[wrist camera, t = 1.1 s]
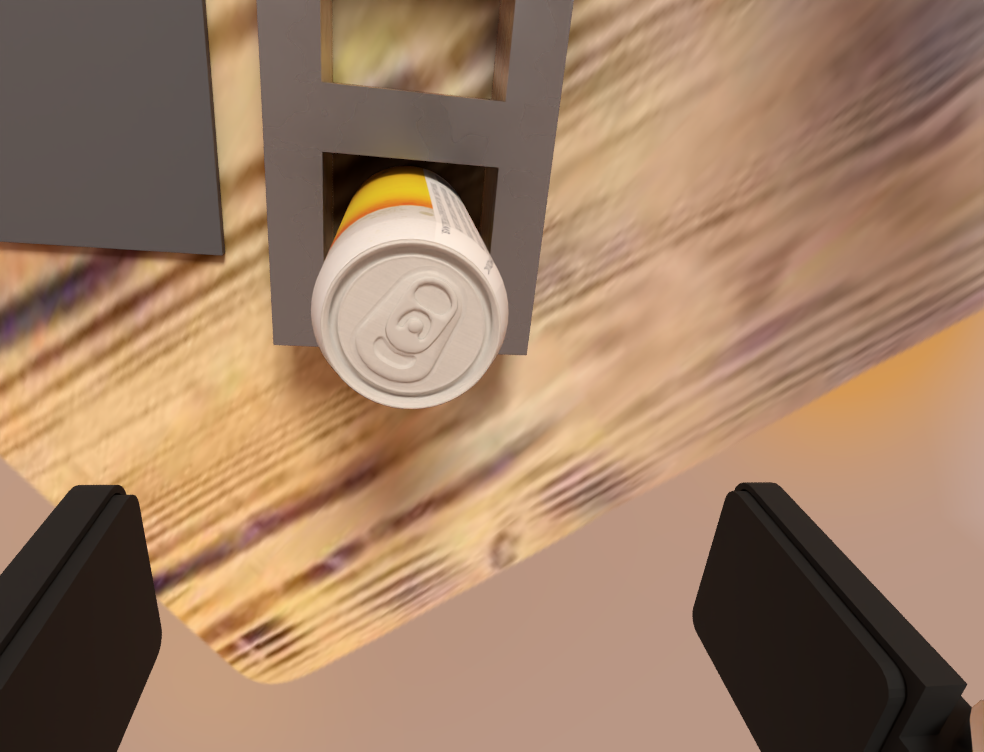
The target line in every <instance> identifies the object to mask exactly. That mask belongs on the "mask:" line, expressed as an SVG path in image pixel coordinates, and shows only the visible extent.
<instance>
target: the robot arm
mask: <svg viewBox="0 0 984 752" xmlns="http://www.w3.org/2000/svg"><path fill="white" fill-rule="evenodd" d="M693 624H694V627H695V630H696V632H697V634H698V636H699V638H700V640H701V641H702V643H703V645H704V647H705V649H706V651H707V653H708V655H709V656H710V658H711V660H712V662H713V664H714V665H715V667H716V669H717V671H718V673H719V675H720V677H721V679H722V680H723V682H724V684H725V686H726V688H727V690H728V692H729V693H730V695H731V697H732V699H733V701H734V703H735V705H736V706H737V708H738V710H739V712H740V714H741V715H742V717H743V719H744V721H745V723H746V725H747V727H748V728H749V730H750V732H751V734H752V736H753V738H754V740H755V741H756V743H757V745H758V747H759V749H760V751H761V752H984V700H980V701H979V702H978V703H977V704H976V705H974V706H973V707H971V706H970V705H969V704H968V703H967V702H966V701H965V700H964V699H963V698H962V696H961V694H962V693H963V691H964V689H965V688H966V686H967V683H966V682H965V681H964V680H963V679H962V678H961V677H960V676H959V675H958V674H957V673H956V671H955V670H954V669H953V668H952V667H951V666H950V665H949V664H948V663H947V662H946V661H945V660H944V659H943V658H942V657H941V656H940V655H939V654H938V653H937V652H936V650H935V649H934V648H933V647H931V645H930V644H929V643H928V642H927V641H926V640H925V639H924V638H923V637H922V636H921V634H919V632H918V631H917V630H916V629H915V628H914V627H913V626H912V625H911V624H910V623H909V622H908V621H907V620H906V619H905V618H904V617H903V615H902V614H901V613H900V612H899V611H898V610H897V609H896V608H895V607H894V606H893V605H892V604H891V603H890V602H889V601H888V600H887V599H886V598H885V597H884V595H883V594H882V593H881V592H880V591H879V590H878V589H877V588H876V587H875V586H874V585H873V584H872V583H871V582H870V581H869V580H868V579H867V577H866V576H865V575H864V574H863V573H862V572H861V571H860V570H859V569H858V568H857V567H856V566H855V565H854V564H853V563H852V562H851V561H850V560H849V559H848V557H847V556H846V555H845V554H844V553H843V552H842V551H841V550H840V549H839V548H838V547H837V546H836V545H835V544H834V543H833V542H832V540H831V539H829V537H828V536H827V535H826V534H825V533H824V532H823V531H822V530H821V529H820V528H819V527H818V526H817V525H816V524H815V523H814V521H813V520H811V518H810V517H809V516H808V515H807V514H806V513H805V512H804V511H803V510H802V509H801V508H800V507H799V506H798V505H797V504H796V503H795V501H794V500H793V499H792V498H791V497H790V496H789V495H788V494H787V493H786V492H785V491H784V490H783V489H782V488H781V487H780V486H779V485H777V484H776V483H770V482H769V483H740V484H739V485H738V486H737V487H736V488H735V490H734V491H731V492H729V493H728V494H727V496H726V498H725V501H724V505H723V508H722V511H721V515H720V518H719V522H718V525H717V529H716V532H715V536H714V539H713V542H712V546H711V549H710V552H709V556H708V559H707V563H706V566H705V570H704V573H703V576H702V580H701V583H700V587H699V590H698V594H697V597H696V600H695V604H694V607H693ZM161 639H162V629H161V623H160V617H159V611H158V606H157V600H156V595H155V589H154V584H153V578H152V573H151V567H150V561H149V556H148V550H147V545H146V539H145V534H144V528H143V523H142V517H141V512H140V506H139V502H138V499H137V497H136V496H135V495H126V492H125V490H124V488H123V487H122V486H120V485H78V486H74V487H73V488H72V489H71V490H70V491H69V492H68V493H67V494H66V496H65V497H64V498H63V499H62V500H61V502H60V503H59V504H58V505H57V507H56V508H55V509H54V510H53V511H52V513H51V514H50V515H49V516H48V518H47V519H46V520H45V521H44V522H43V524H42V525H41V526H40V527H39V529H38V530H37V531H36V532H35V533H34V535H33V536H32V537H31V538H30V540H29V541H28V542H27V543H26V545H25V546H24V547H23V548H22V550H21V551H20V552H19V553H18V554H17V555H16V557H15V558H14V559H13V560H12V562H11V563H10V564H9V565H8V566H7V568H6V569H5V570H4V571H3V573H2V574H1V575H0V752H117V750H118V748H119V745H120V743H121V741H122V738H123V736H124V733H125V731H126V729H127V726H128V724H129V722H130V719H131V717H132V715H133V712H134V710H135V708H136V705H137V703H138V701H139V698H140V696H141V694H142V691H143V689H144V687H145V684H146V682H147V679H148V677H149V675H150V673H151V670H152V668H153V666H154V663H155V661H156V659H157V656H158V653H159V650H160V646H161Z"/></svg>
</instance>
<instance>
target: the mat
mask: <svg viewBox="0 0 984 752" xmlns="http://www.w3.org/2000/svg"><path fill="white" fill-rule="evenodd" d="M0 242H16V243H32V244H48V245H64V246H80V247H96V248H112V249H128V250H144V251H160V252H175V253H191V254H207V255H223V254H225V246H224V233H223V221H222V208H221V195H220V182H219V170H218V157H217V144H216V132H215V119H214V106H213V94H212V81H211V68H210V56H209V43H208V30H207V17H206V5H205V0H0Z"/></svg>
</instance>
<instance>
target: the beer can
mask: <svg viewBox="0 0 984 752" xmlns="http://www.w3.org/2000/svg"><path fill="white" fill-rule="evenodd" d="M508 314H509V312H508V299H507V293H506V289H505V286H504V283H503V280H502V278H501V276H500V273H499V271H498V269H497V267H496V265H495V263H494V261H493V260H492V258H491V256H490V254H489V252H488V250H487V248H486V246H485V244H484V242H483V240H482V238H481V237H480V235H479V233H478V231H477V229H476V227H475V225H474V223H473V221H472V219H471V217H470V215H469V213H468V212H467V210H466V208H465V206H464V204H463V202H462V200H461V198H460V197H459V195H458V193H457V192H456V191H455V189H454V188H453V187H452V186H451V185H450V184H449V183H448V182H447V181H446V180H444V179H443V178H442V177H440V176H439V175H437V174H435V173H433V172H431V171H429V170H426V169H424V168H420V167H415V166H396V167H391V168H387V169H384V170H382V171H379V172H377V173H376V174H374V175H372V176H371V177H369V178H368V179H367V180H366V181H365V182H364V183H363V184H361V186H360V187H359V188H358V189H357V191H356V192H355V194H354V195H353V197H352V199H351V201H350V204H349V206H348V208H347V211H346V213H345V215H344V217H343V220H342V222H341V224H340V227H339V229H338V231H337V234H336V236H335V238H334V240H333V243H332V245H331V247H330V250H329V252H328V254H327V256H326V259H325V261H324V263H323V266H322V268H321V270H320V273H319V275H318V277H317V280H316V283H315V286H314V290H313V295H312V301H311V319H312V326H313V331H314V335H315V338H316V341H317V344H318V346H319V348H320V350H321V352H322V354H323V355H324V357H325V359H326V360H327V362H328V363H329V364H330V366H331V367H332V368H333V369H334V371H335V372H336V373H337V374H338V375H339V376H340V377H341V379H342V380H343V381H344V382H345V383H346V384H347V385H348V386H350V387H351V388H352V389H353V390H355V391H356V392H357V393H359V394H360V395H362V396H364V397H365V398H367V399H369V400H372V401H374V402H376V403H379V404H382V405H385V406H389V407H394V408H401V409H422V408H428V407H433V406H437V405H441V404H443V403H446V402H449V401H451V400H453V399H455V398H457V397H459V396H460V395H462V394H463V393H465V392H466V391H468V390H469V389H470V388H471V387H473V386H474V385H475V384H476V383H477V382H478V381H479V380H480V379H481V377H482V376H483V375H484V374H485V372H486V371H487V369H488V368H489V366H490V365H491V364H492V363H493V361H494V359H495V358H496V356H497V354H498V353H499V350H500V348H501V346H502V344H503V341H504V338H505V335H506V330H507V325H508Z"/></svg>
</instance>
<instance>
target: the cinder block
mask: <svg viewBox="0 0 984 752" xmlns="http://www.w3.org/2000/svg"><path fill="white" fill-rule="evenodd" d="M573 1H574V0H500V10H499V21H498V32H497V43H496V54H495V65H494V76H493V87H492V98H491V100H490V99H481V98H471V97H462V96H453V95H444V94H434V93H425V92H416V91H407V90H397V89H388V88H379V87H370V86H360V85H351V84H342V83H333V58H332V0H257V18H258V38H259V58H260V79H261V99H262V119H263V140H264V160H265V180H266V201H267V221H268V241H269V262H270V282H271V302H272V323H273V343H274V345H290V346H314V347H319V346H318V344H317V341H316V338H315V335H314V331H313V326H312V319H311V301H312V295H313V290H314V286H315V283H316V280H317V277H318V275H319V273H320V270H321V268H322V266H323V263H324V261H325V259H326V256H327V254H328V252H329V250H330V247H331V245H332V243H333V240H334V229H333V153H344V154H355V155H366V156H377V157H388V158H399V159H410V160H421V161H432V162H443V163H454V164H465V165H476V166H485V175H484V186H483V197H482V208H481V219H480V230H479V235H480V237H481V238H482V240H483V242H484V244H485V246H486V248H487V250H488V252H489V254H490V256H491V258H492V260H493V261H494V263H495V265H496V267H497V269H498V271H499V273H500V276H501V278H502V280H503V283H504V286H505V289H506V293H507V299H508V312H509V314H508V325H507V330H506V335H505V338H504V341H503V344H502V346H501V348H500V350H499V353H498V354H507V355H527V348H528V340H529V333H530V325H531V317H532V310H533V302H534V295H535V287H536V280H537V272H538V265H539V257H540V250H541V242H542V235H543V227H544V220H545V212H546V204H547V197H548V189H549V182H550V174H551V167H552V159H553V152H554V144H555V137H556V129H557V122H558V114H559V107H560V99H561V92H562V84H563V76H564V69H565V61H566V54H567V46H568V39H569V31H570V24H571V16H572V9H573Z"/></svg>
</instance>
